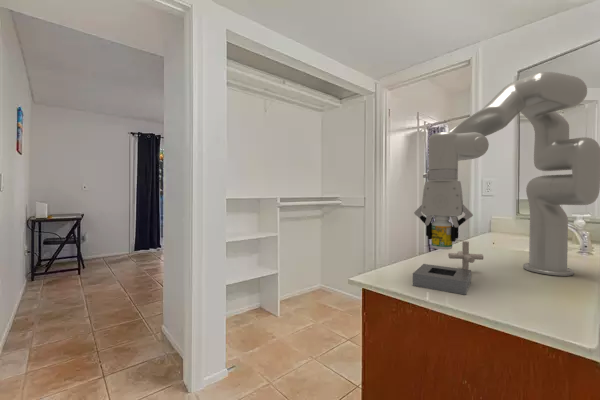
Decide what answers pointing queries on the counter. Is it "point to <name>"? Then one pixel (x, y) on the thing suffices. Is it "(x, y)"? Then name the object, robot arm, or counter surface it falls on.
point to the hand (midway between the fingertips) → (441, 239)
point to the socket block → (442, 278)
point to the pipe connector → (465, 256)
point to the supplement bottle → (441, 233)
